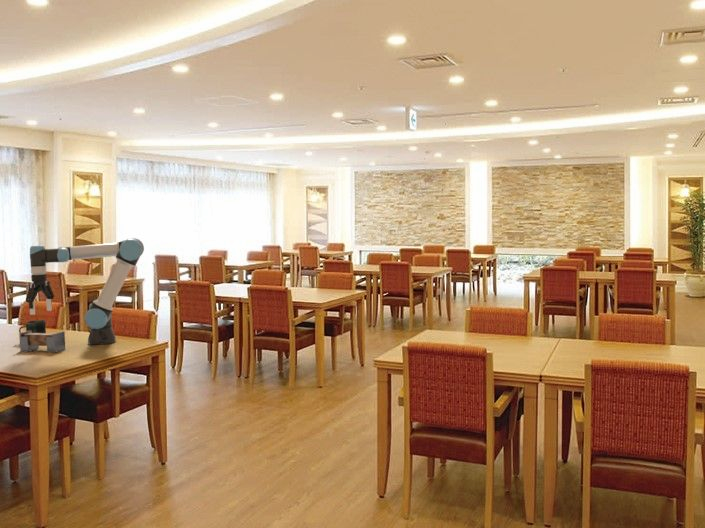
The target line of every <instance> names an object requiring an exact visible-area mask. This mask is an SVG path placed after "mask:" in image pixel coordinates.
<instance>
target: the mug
mask: <svg viewBox="0 0 705 528" xmlns="http://www.w3.org/2000/svg"><path fill="white" fill-rule="evenodd" d="M46 322H47V321H46V320H44V319H43V320H41V319H39V320H30V321H25V322H24V324H25V325H22V326H20V327H19V329H18V331H19V333H22V332H21V331H22V330H21V329H23V328H24V329H25V332H26V331H30V330H32V333H47V329H46Z"/></svg>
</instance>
